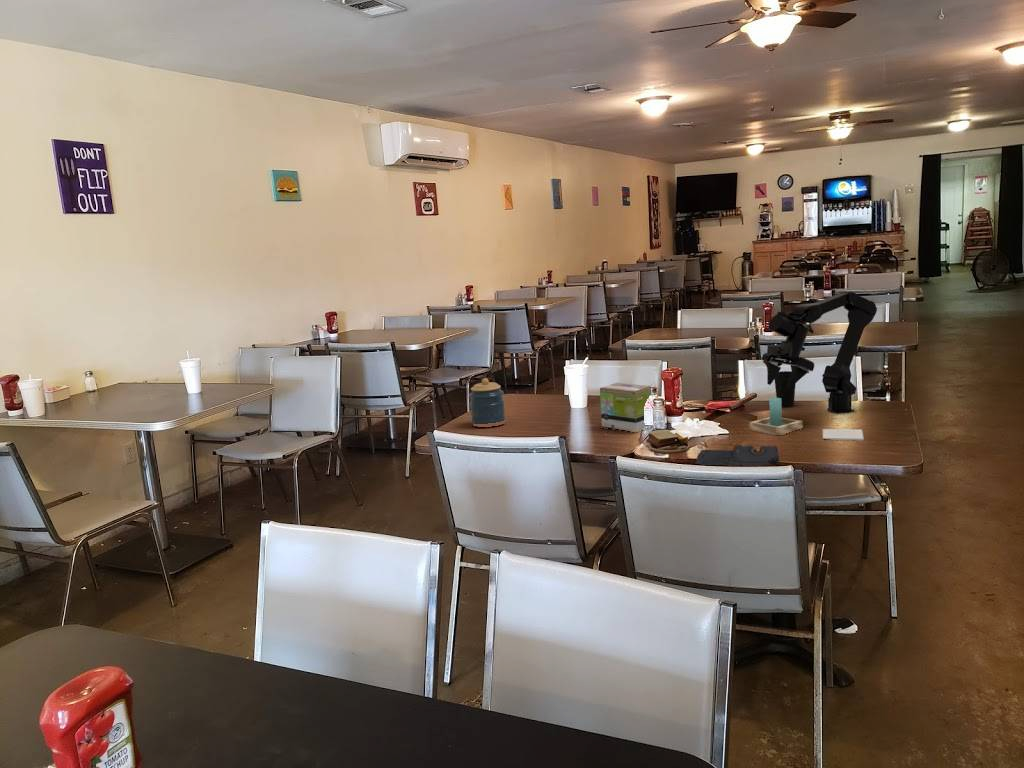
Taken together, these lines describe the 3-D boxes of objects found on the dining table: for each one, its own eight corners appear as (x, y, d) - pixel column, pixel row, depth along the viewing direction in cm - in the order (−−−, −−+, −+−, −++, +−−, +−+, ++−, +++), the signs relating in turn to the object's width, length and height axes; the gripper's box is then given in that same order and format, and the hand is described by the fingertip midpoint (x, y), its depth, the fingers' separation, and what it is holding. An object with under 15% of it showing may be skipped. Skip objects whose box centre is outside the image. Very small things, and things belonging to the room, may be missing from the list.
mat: (822, 430, 234) (822, 429, 234) (861, 431, 230) (861, 429, 230) (822, 439, 224) (822, 438, 224) (863, 440, 220) (863, 438, 220)
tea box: (601, 428, 260) (598, 387, 258) (618, 422, 267) (616, 382, 265) (636, 433, 250) (634, 390, 247) (654, 427, 256) (652, 384, 254)
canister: (484, 430, 272) (480, 382, 269) (465, 425, 282) (460, 379, 279) (513, 423, 279) (509, 376, 276) (493, 419, 290) (489, 374, 287)
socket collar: (772, 423, 248) (772, 416, 248) (802, 428, 239) (802, 421, 238) (749, 430, 242) (749, 422, 242) (779, 435, 233) (779, 427, 232)
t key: (770, 426, 244) (769, 396, 243) (788, 430, 238) (788, 399, 237) (763, 428, 242) (762, 398, 241) (781, 432, 237) (780, 401, 235)
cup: (793, 402, 276) (793, 370, 274) (799, 407, 268) (799, 374, 266) (772, 404, 276) (771, 372, 274) (777, 408, 269) (776, 375, 267)
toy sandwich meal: (658, 456, 222) (657, 441, 221) (641, 446, 235) (640, 431, 234) (697, 451, 224) (697, 435, 223) (678, 441, 237) (678, 426, 236)
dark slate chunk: (700, 455, 220) (699, 440, 219) (779, 457, 212) (779, 441, 211) (693, 471, 206) (692, 454, 205) (778, 473, 198) (778, 456, 197)
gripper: (757, 331, 252) (741, 374, 251) (797, 335, 234) (780, 381, 234) (781, 342, 256) (765, 385, 256) (822, 347, 239) (806, 393, 239)
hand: (778, 386), depth 246 cm, fingers open, 9 cm apart
